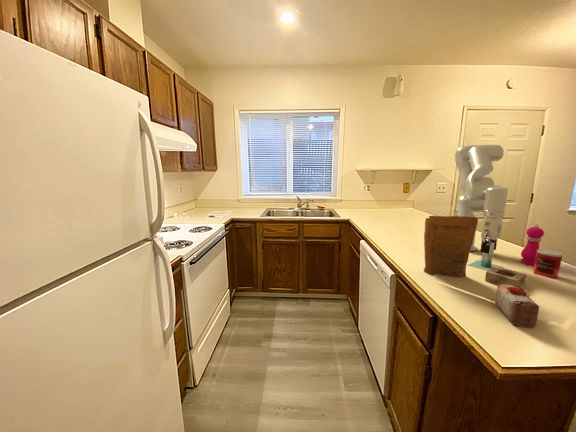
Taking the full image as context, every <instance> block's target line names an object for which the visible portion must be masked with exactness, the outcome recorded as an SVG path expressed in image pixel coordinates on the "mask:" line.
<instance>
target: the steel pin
mask: <svg viewBox="0 0 576 432" xmlns="http://www.w3.org/2000/svg"><path fill="white" fill-rule="evenodd" d="M487 242H488V240H487ZM494 244H495V243H494V242H492V241H490V244H489V245H490V250H489V253H488V254H487V253H483V252H481V257H480V258H481V259H480V261H481V266H482V267H486V268H491V265H492V264H493V257H494V251H495V250H494Z"/></svg>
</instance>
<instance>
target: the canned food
mask: <svg viewBox="0 0 576 432" xmlns="http://www.w3.org/2000/svg"><path fill="white" fill-rule="evenodd" d="M562 259H563V253H561V252H560V251H556V250H552V249H544V248H542V249H541V248H539V250H537V253H536V259H535V264H534V266H533V271H532V272H533V274H534V275H537V276H542V277H546V278H549V279H554V280H556V279H558V277H559V273H560V268H561V264H562Z"/></svg>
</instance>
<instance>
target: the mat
mask: <svg viewBox="0 0 576 432" xmlns="http://www.w3.org/2000/svg"><path fill="white" fill-rule="evenodd" d="M467 266H468V267H473V268H475V269H479V270H482V271H486V272H487V271H489V270H490V269H492V268H494V267H496V266H497V267H500V268H504V269H505V266H501V265H498V264H494V263H492V265H491V268H486V267H482V266H481V260H478V259H476V260H475V261H473V262H471V263H469V264H467Z"/></svg>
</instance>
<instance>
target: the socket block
mask: <svg viewBox="0 0 576 432" xmlns="http://www.w3.org/2000/svg"><path fill="white" fill-rule="evenodd" d="M526 277H527V274H526V273H522V272H520V271H519V272H518V271H516V270H512V269H507V268H505V267H504V268H500V267H497V266H496V267H494V268H492V269H490V270H489V271H486V272H485V278H484V281H485V282H487V283H490V284H494V285H496V286H498V284H501V285H502V284H505V285H506V284H507V285H512V286H515V287H517V288H522V286H523V285H525V284H526V283H525V282H526Z"/></svg>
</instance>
